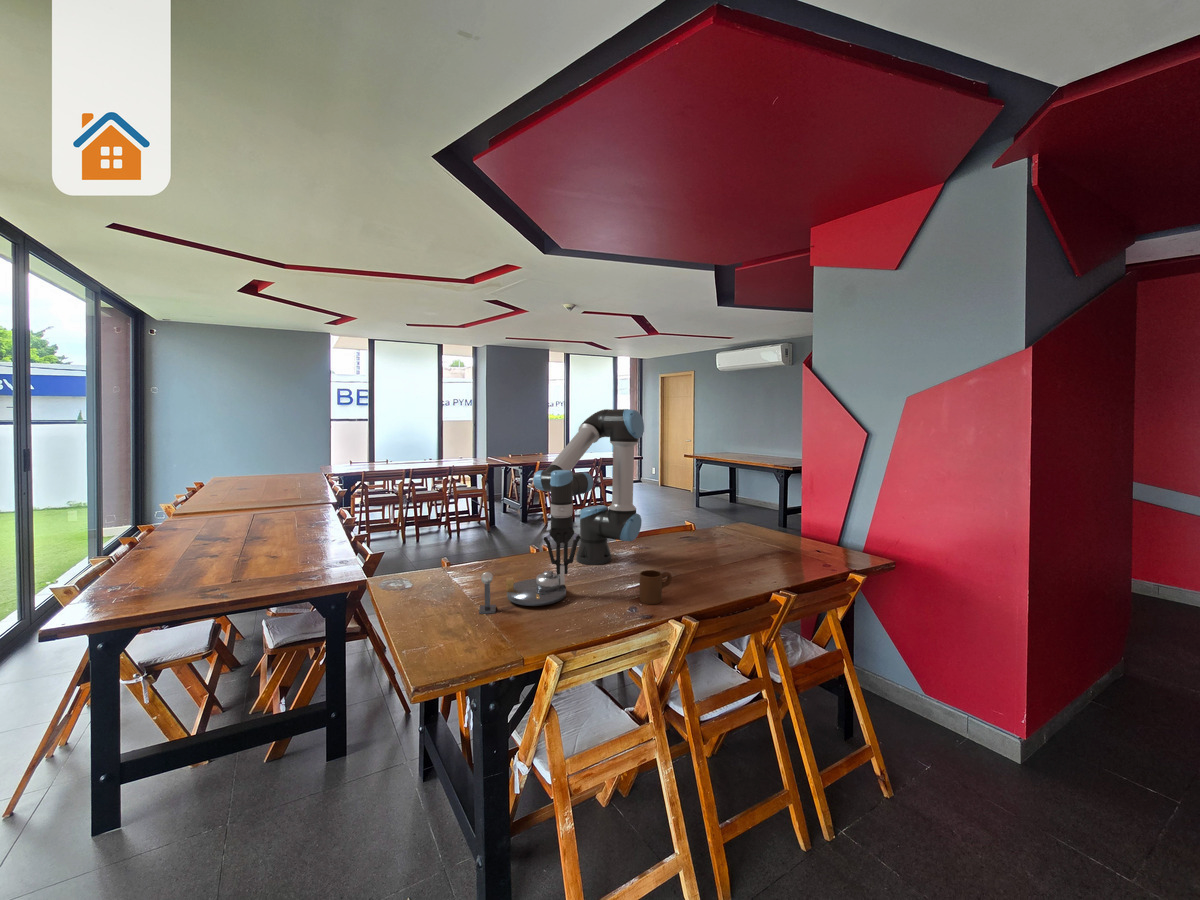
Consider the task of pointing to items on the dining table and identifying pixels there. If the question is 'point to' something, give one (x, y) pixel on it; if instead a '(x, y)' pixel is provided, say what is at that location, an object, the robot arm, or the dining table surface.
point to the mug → (652, 586)
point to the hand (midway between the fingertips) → (562, 583)
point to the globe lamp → (487, 594)
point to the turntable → (531, 593)
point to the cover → (548, 581)
